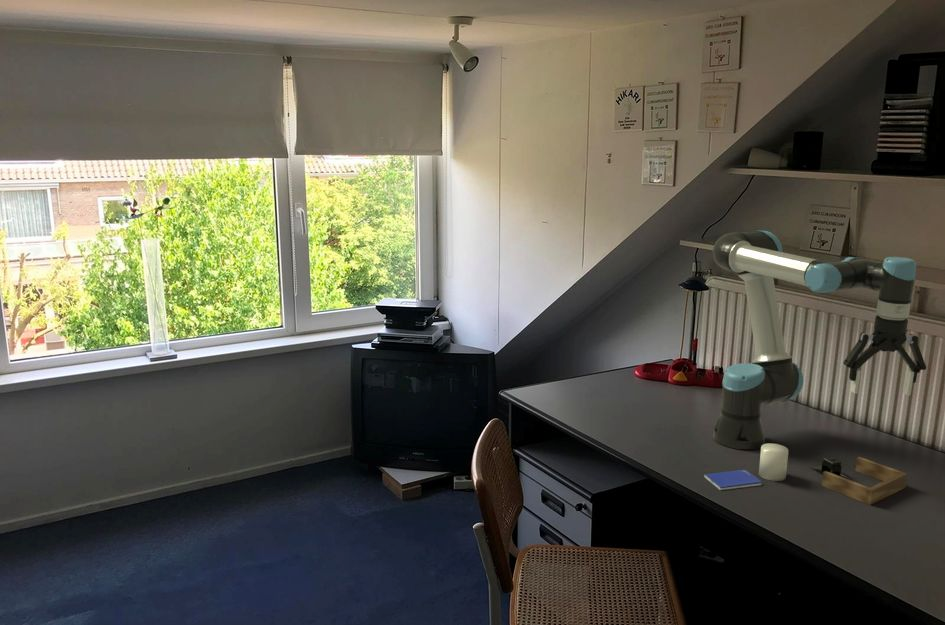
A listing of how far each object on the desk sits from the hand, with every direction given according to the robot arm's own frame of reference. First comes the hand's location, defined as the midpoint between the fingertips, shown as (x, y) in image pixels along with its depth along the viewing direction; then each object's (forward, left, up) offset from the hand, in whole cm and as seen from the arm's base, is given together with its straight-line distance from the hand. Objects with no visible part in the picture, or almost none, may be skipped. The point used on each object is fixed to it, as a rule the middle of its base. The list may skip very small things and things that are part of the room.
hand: (880, 392), depth 202 cm
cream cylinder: (-16, -21, -24) cm, 36 cm away
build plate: (-7, -7, -25) cm, 27 cm away
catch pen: (+2, -8, -24) cm, 26 cm away
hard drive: (-20, -33, -25) cm, 46 cm away
